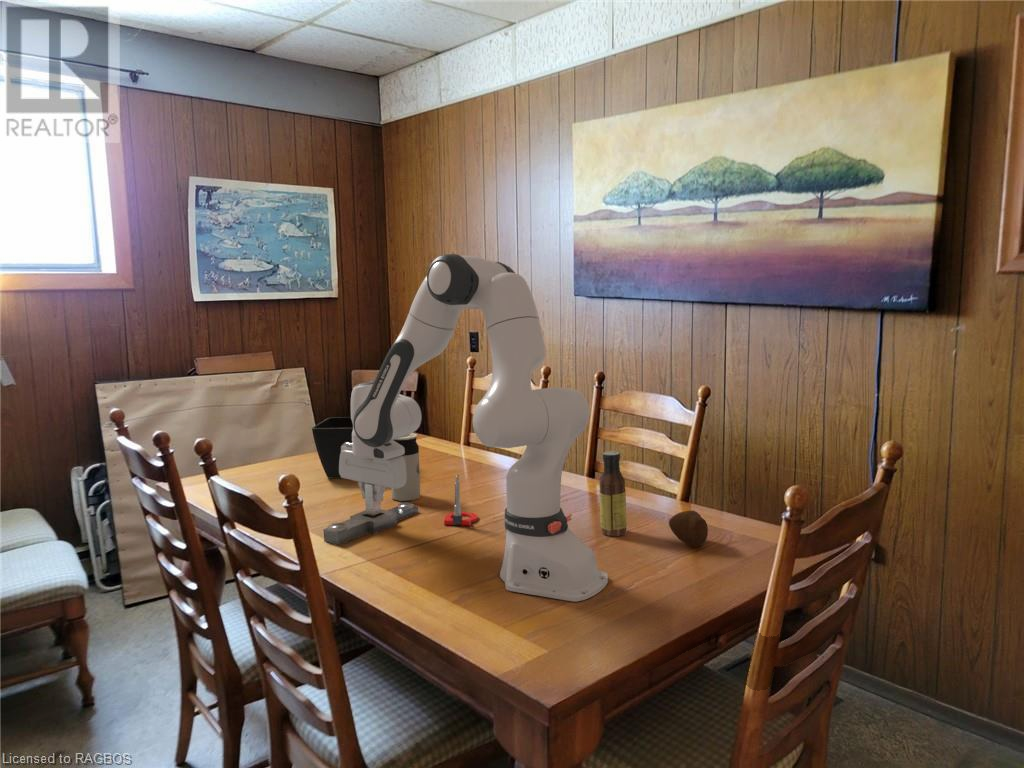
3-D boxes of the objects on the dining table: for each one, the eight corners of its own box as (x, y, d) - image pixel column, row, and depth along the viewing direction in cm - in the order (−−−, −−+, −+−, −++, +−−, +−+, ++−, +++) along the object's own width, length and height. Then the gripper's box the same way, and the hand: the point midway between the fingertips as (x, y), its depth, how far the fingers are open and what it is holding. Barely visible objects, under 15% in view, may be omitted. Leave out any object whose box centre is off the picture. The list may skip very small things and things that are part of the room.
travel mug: (387, 500, 202) (384, 437, 199) (398, 492, 209) (396, 431, 207) (414, 502, 200) (412, 439, 197) (424, 494, 208) (422, 432, 205)
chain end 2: (422, 513, 191) (422, 505, 191) (374, 533, 176) (373, 525, 176) (400, 508, 195) (399, 500, 195) (350, 527, 181) (350, 519, 180)
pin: (380, 513, 182) (379, 482, 180) (373, 516, 180) (372, 485, 178) (373, 511, 183) (372, 480, 182) (366, 514, 181) (364, 483, 180)
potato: (695, 553, 161) (696, 519, 160) (662, 540, 169) (662, 508, 168) (716, 546, 165) (717, 513, 164) (683, 534, 173) (684, 502, 172)
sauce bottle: (627, 529, 177) (628, 450, 174) (624, 538, 171) (625, 456, 168) (601, 527, 178) (601, 448, 175) (597, 536, 172) (597, 455, 169)
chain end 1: (396, 524, 183) (396, 510, 182) (343, 546, 168) (342, 531, 167) (373, 518, 187) (373, 504, 187) (319, 540, 172) (318, 525, 172)
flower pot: (331, 465, 240) (328, 416, 238) (387, 465, 239) (385, 415, 237) (313, 482, 222) (310, 428, 219) (374, 481, 221) (372, 427, 218)
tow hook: (449, 515, 190) (440, 525, 181) (448, 467, 189) (439, 475, 180) (480, 516, 189) (473, 527, 180) (480, 468, 188) (473, 476, 179)
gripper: (331, 443, 182) (334, 496, 184) (391, 454, 170) (393, 510, 173) (350, 438, 187) (352, 490, 189) (409, 448, 176) (411, 503, 178)
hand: (372, 500), depth 181 cm, fingers closed on pin, 3 cm apart
